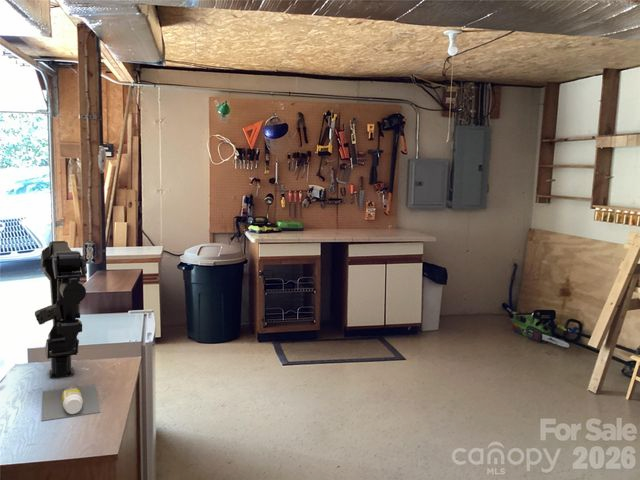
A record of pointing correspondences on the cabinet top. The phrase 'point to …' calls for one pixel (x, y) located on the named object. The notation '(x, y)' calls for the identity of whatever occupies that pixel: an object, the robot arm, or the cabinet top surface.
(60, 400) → the flat gray panel
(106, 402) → the cabinet top surface
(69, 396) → the supplement bottle
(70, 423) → the cabinet top surface
